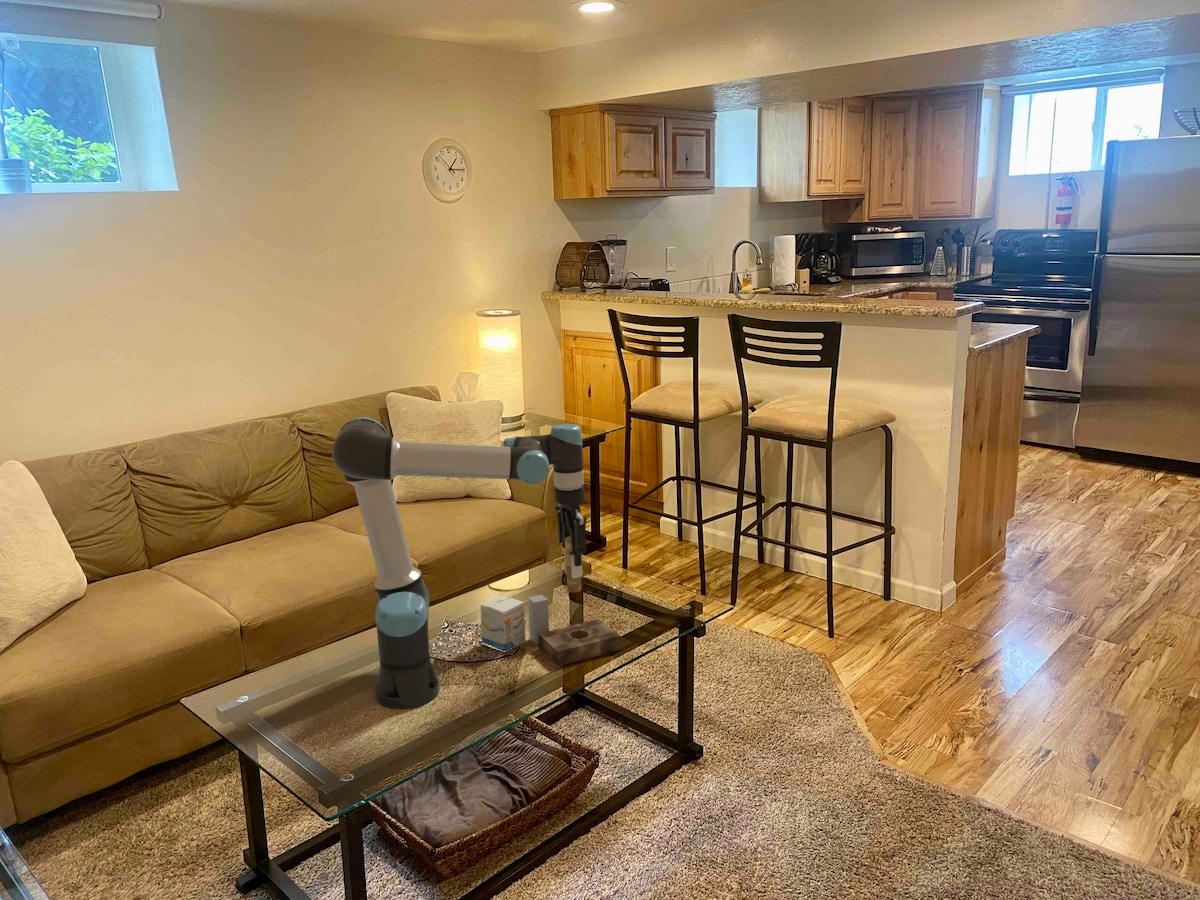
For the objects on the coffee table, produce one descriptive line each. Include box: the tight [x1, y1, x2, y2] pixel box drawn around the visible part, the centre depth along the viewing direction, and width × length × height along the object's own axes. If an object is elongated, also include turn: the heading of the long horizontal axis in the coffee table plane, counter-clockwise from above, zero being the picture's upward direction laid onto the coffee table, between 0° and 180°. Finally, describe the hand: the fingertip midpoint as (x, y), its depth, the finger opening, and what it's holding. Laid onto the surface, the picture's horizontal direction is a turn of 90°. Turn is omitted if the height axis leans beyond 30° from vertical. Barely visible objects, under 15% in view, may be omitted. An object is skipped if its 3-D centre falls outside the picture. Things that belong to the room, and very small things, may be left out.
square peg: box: [527, 594, 550, 646], centre depth 237 cm, size 4×4×12 cm
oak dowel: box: [565, 536, 582, 593], centre depth 226 cm, size 4×4×14 cm
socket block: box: [538, 618, 622, 667], centre depth 232 cm, size 18×12×4 cm, turn 118°
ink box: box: [480, 595, 527, 651], centre depth 235 cm, size 9×8×12 cm
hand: (573, 574), depth 226 cm, fingers closed on oak dowel, 3 cm apart
